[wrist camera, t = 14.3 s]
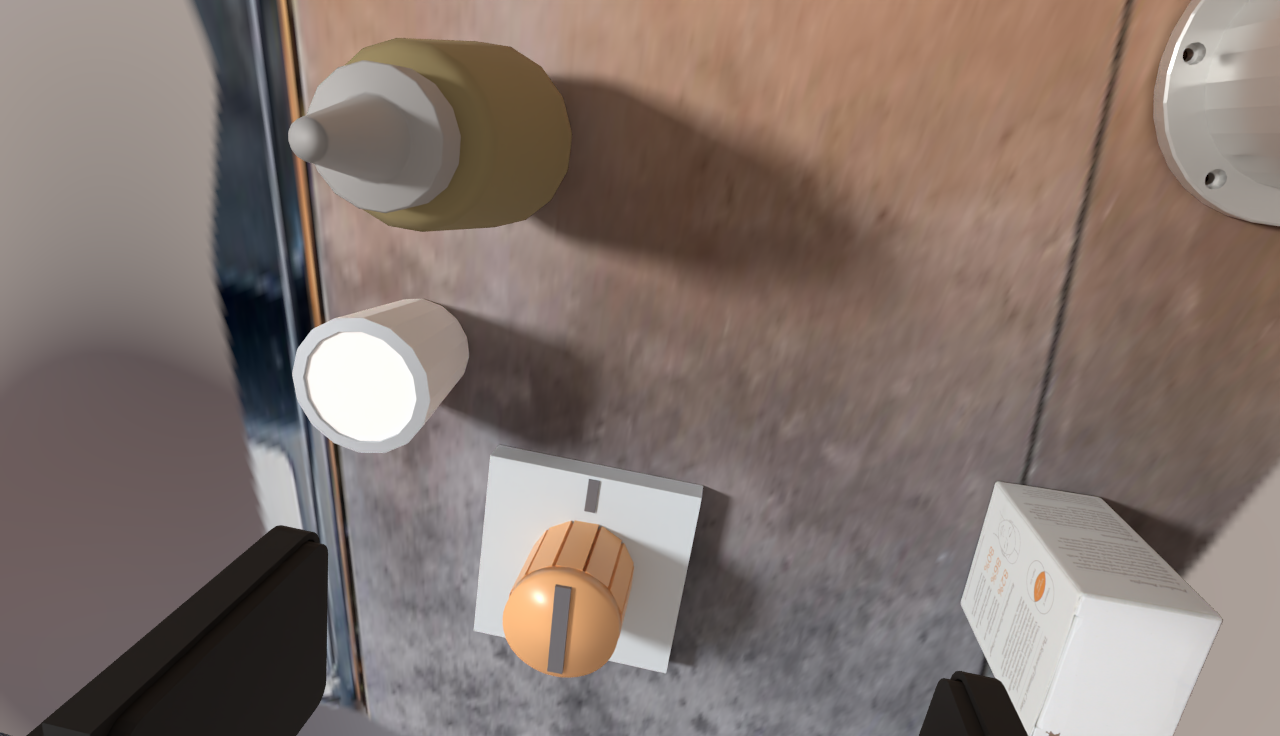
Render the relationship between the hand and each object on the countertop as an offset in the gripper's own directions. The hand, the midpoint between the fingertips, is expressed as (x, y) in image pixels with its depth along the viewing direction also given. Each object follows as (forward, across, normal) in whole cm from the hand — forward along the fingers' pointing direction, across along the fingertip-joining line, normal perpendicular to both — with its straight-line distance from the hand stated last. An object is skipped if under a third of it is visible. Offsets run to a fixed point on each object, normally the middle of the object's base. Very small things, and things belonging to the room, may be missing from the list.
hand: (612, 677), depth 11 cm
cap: (+27, +4, +17) cm, 32 cm away
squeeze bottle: (+28, +11, -6) cm, 31 cm away
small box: (+29, -20, +11) cm, 37 cm away
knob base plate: (+28, +4, +17) cm, 33 cm away
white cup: (+28, +15, +6) cm, 33 cm away
